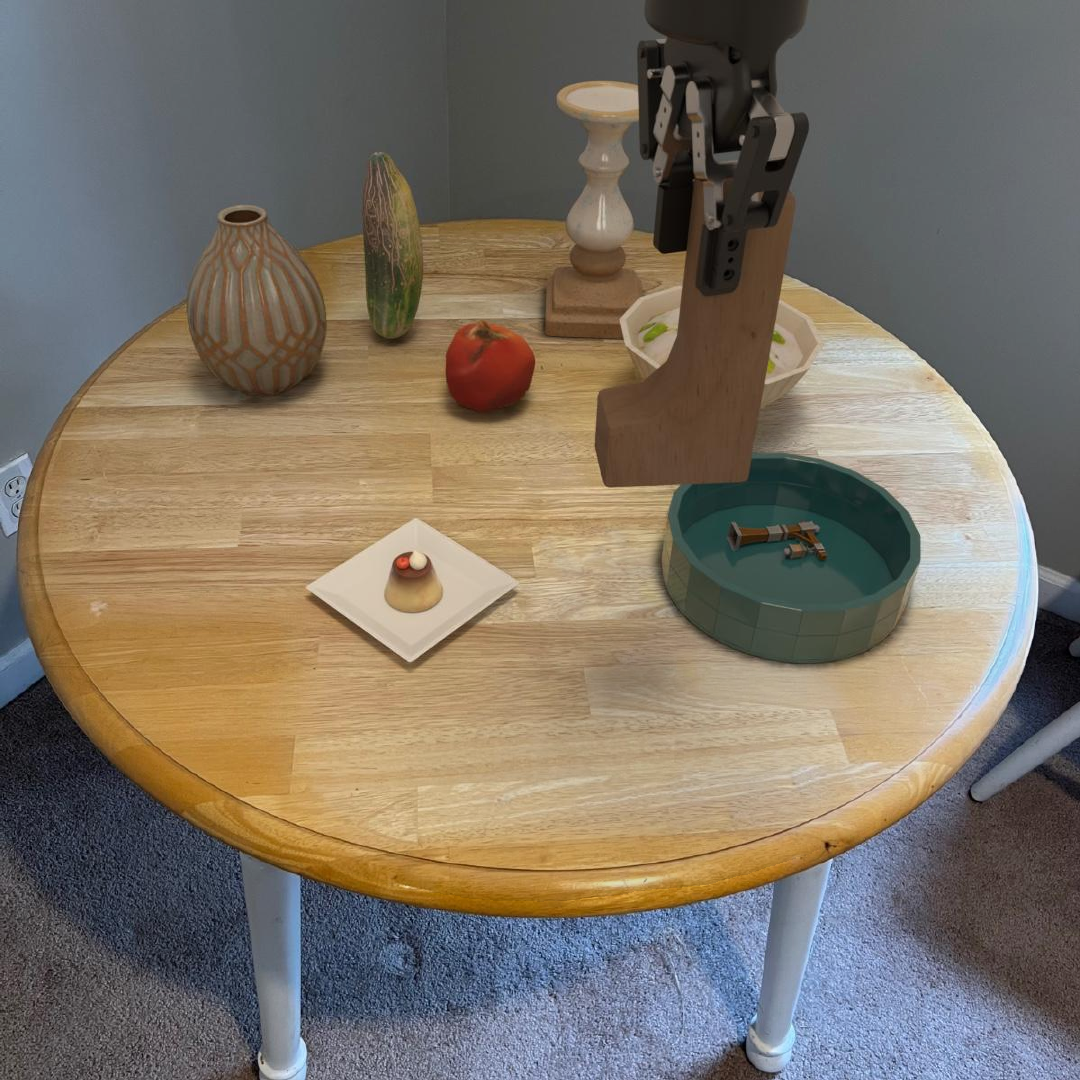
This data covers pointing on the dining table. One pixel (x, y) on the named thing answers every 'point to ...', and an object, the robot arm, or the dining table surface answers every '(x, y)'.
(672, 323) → the bowl
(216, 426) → the dining table surface
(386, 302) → the vegetable
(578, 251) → the candle holder
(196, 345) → the vase
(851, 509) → the teal bowl
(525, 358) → the tomato
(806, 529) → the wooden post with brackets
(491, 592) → the dessert
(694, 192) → the wooden block
